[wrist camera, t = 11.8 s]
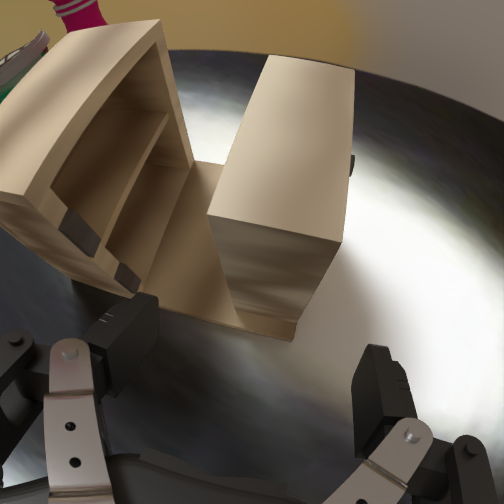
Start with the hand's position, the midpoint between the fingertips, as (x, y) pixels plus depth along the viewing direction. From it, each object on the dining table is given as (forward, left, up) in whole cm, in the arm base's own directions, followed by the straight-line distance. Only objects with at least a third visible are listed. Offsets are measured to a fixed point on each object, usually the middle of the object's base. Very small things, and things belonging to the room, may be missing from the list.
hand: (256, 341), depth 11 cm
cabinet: (-7, +8, -9) cm, 14 cm away
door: (0, +7, -8) cm, 11 cm away
